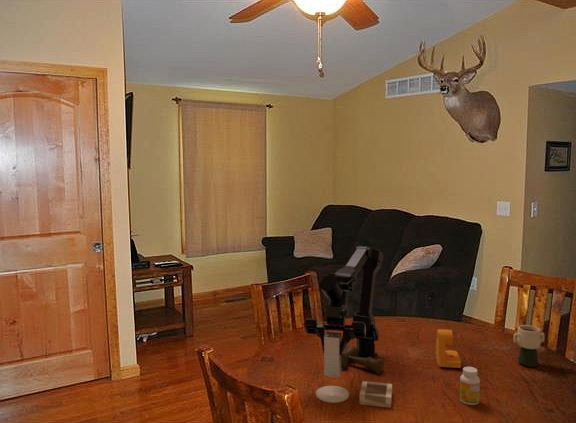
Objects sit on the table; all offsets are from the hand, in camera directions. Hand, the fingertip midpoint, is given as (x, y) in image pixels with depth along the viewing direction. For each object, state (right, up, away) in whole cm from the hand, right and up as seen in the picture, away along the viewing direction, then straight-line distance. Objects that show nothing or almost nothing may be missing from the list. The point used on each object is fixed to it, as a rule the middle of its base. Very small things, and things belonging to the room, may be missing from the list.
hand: (332, 353), depth 143 cm
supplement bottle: (+40, -13, -2) cm, 43 cm away
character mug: (+70, -11, +23) cm, 75 cm away
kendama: (+10, -12, +24) cm, 28 cm away
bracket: (+43, -11, +25) cm, 51 cm away
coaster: (0, -13, +3) cm, 14 cm away
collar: (+13, -13, 0) cm, 19 cm away
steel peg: (0, -6, +2) cm, 7 cm away
